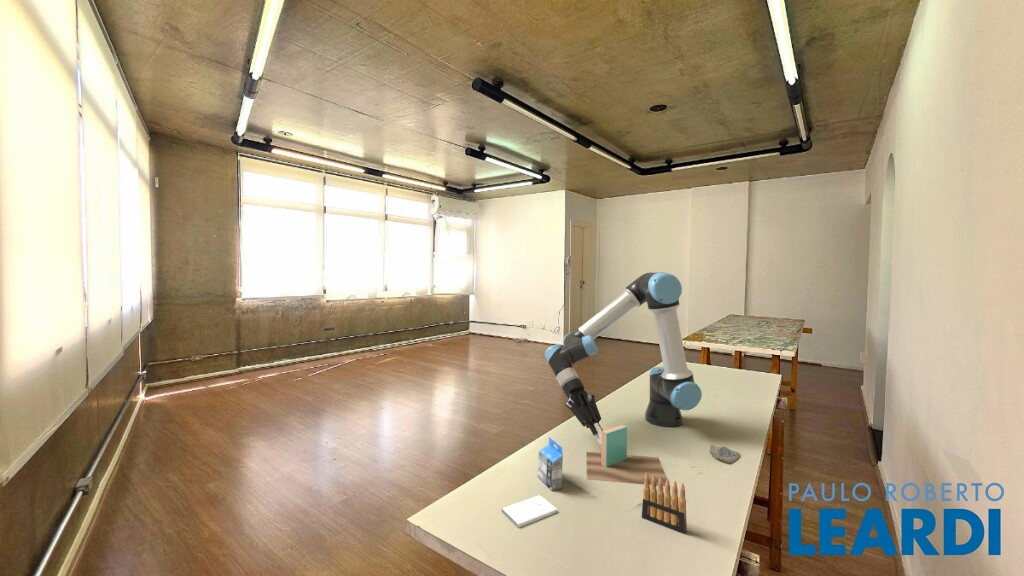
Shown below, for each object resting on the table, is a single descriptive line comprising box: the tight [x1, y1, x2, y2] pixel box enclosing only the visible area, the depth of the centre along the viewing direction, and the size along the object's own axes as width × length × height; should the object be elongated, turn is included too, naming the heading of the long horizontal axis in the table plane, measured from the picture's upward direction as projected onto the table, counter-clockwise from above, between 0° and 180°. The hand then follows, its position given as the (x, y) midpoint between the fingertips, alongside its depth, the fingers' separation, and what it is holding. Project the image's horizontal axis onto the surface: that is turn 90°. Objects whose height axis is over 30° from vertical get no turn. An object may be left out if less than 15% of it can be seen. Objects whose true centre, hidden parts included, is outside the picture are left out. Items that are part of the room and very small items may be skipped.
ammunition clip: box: [641, 473, 688, 535], centre depth 101 cm, size 11×2×12 cm, turn 52°
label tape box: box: [537, 436, 564, 491], centre depth 121 cm, size 9×4×12 cm, turn 23°
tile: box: [600, 424, 628, 467], centre depth 133 cm, size 2×10×11 cm, turn 125°
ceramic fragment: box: [709, 444, 741, 465], centre depth 140 cm, size 11×3×10 cm
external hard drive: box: [500, 495, 558, 529], centre depth 107 cm, size 2×8×12 cm
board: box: [586, 451, 668, 487], centre depth 129 cm, size 19×24×1 cm
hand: (603, 442), depth 136 cm, fingers closed
